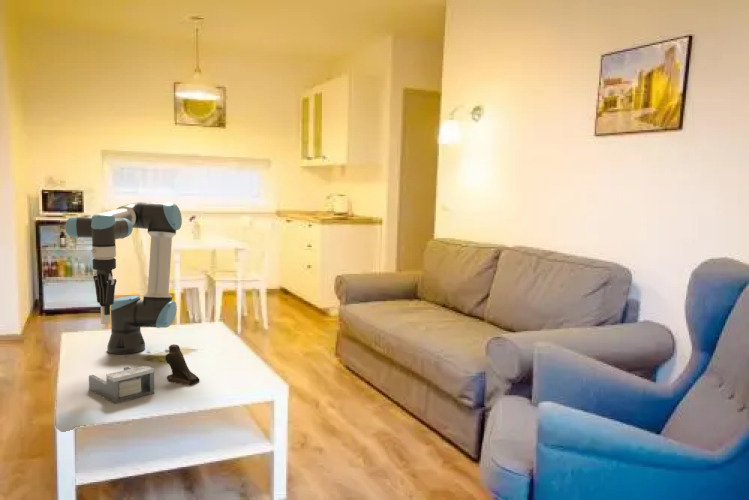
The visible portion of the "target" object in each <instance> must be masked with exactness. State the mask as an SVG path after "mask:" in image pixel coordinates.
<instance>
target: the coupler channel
mask: <svg viewBox="0 0 749 500" xmlns="http://www.w3.org/2000/svg"><path fill="white" fill-rule="evenodd" d="M136 376H137V377H139V378H141V392H139V393H135V394H131V395H127V396H123V397H119V381H120V380H124V379H128V378H132V377H136ZM105 378H106V380H104V379H103V378H100V377H99V376H96V374H95V375H94V374H91V375H88V390H89V391H91V392H93V393H94V394H97V395H98V396H100V397H102V398H103V397H104V398H103V399H105V400H107V401H109V402H110V401H111V402H110V403H113V404H114V405H115V404H119V403H123V402H127V401H130V400H134V399H137V398H140V397H145V396H149V395H153V394H155V369H154V368H153V367H150V366H148V365H141V366H138V367H134V368H131V367H129V366H126V367H123V370H119V371H115V372H112V373H106V375H105Z"/></svg>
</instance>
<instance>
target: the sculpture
mask: <svg viewBox="0 0 749 500" xmlns="http://www.w3.org/2000/svg"><path fill="white" fill-rule="evenodd" d="M168 352H169V353H167V354H166V355H165V361H166V364H169V367H170V369H171V374H168V375H167V376H166V378H167V379H166V380H167V382H169V383H170V382H171V383H174V382H175V383H174V384H180V385H185V386H193V385H195V384H197V383H199V382H200V377H199V376H197V375H196V374H195V373H193V372H192V371H191V370H190V368H189V367H188V365H187V362H186V359H185V357H184V355H183V353H182V350H181V348H180V345H178V344H170V345H169V346H168Z"/></svg>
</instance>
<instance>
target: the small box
mask: <svg viewBox="0 0 749 500" xmlns="http://www.w3.org/2000/svg"><path fill="white" fill-rule="evenodd" d="M139 392H141V378H139V377H137V376H136V377H132V378H128V379H124V380H120V381H119V397H123V396H127V395H131V394H135V393H139Z"/></svg>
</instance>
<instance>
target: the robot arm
mask: <svg viewBox="0 0 749 500" xmlns="http://www.w3.org/2000/svg"><path fill="white" fill-rule="evenodd" d="M182 223H183V218H182V212H181V210H180V208H179V206H178V205H177V204H175V203H174V202H165V201H164V202H157V201H156V202H152V201H151V202H150V201H149V202H148V201H139V202H132V203H130V204H126V205H120V206H119V207H117V208H116V209H113V210H110V211H106V212H105V211H104V212H100V213H97V214H95V213H94V214H92V215H88V216H82V217H81V216H73V217H69V218H68V219H66V222H65V232H66V234H67V236H68V237H70V238H77V239H78V238H80V239H81V238H82V239H83V238H85V239H86V238H87V239H88V238H89V239H91V243H92V244H91V250H90V251H91V253H92V254H91V255H92V258H93V259H92V269H93V270H94V271H96V275H93V277H92V279H93V282H94V287H95V294H96V302H97V303H99V306H100V324H101V325H107V324H110V326H111V327H110V330H111V334H110V336H109V339H108V342H107V348H106V351H107V352H108V353H109V354H114V355H129V354H136V353H140V352H142V351H144V350H145V349H146V342H145V340H144V336H143V334H142V332H141V331H142V330H141V328H157V329H160V328H163V329H164V328H169V327H170V326H172V324H173V323H174V321H175V318H176V315H177V310H178V308H177V302H176V301H174V300H173V296H172V295H171V293H170V279H171V278H170V277H171V276H170V274H171V262H172V261H171V260H172V259H171V258H172V247H173V246H172V244H173V237H175V236H176V234H177V231H179V230H180V229H181V228H182ZM133 229H145V230H146V229H147V234H148V235H150V248H149V249H150V250H149V265H148V281H147V284H148V285H147V292H146V293H145V294H144V295H143V299H141V297H140V295H135V294H134V295H126V296H121V297H117V298H115V293H116V291H115V290H116V283H117V278H114V277H113V270H115V269H116V268H117V259H116V257H117V250H116V248H117V247H116V240H118V239H119V240H120V239H125V238H128V237H129V236H131V234H132V232H133Z"/></svg>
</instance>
